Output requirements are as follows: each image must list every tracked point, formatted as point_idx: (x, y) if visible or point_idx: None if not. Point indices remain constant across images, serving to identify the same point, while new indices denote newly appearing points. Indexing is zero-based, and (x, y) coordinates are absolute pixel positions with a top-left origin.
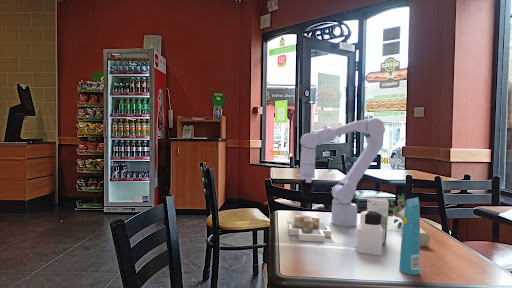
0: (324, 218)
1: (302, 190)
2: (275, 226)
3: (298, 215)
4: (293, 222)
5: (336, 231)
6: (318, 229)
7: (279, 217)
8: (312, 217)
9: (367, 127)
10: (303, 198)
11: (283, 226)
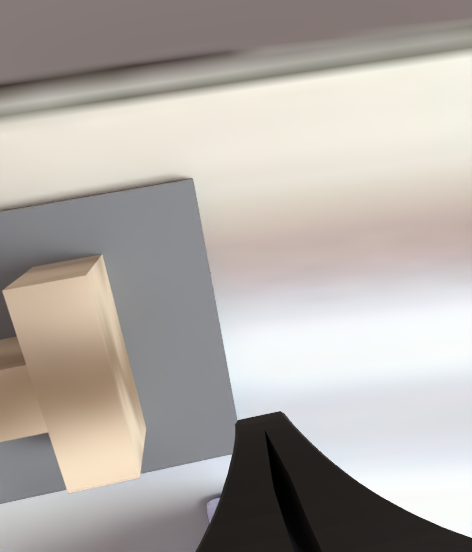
0: (460, 429)
1: (220, 498)
2: (30, 92)
3: (92, 313)
4: (169, 240)
5: (105, 530)
6: (28, 443)
7: (393, 79)
8: (69, 439)
9: None
10: (238, 423)
11: (66, 164)
